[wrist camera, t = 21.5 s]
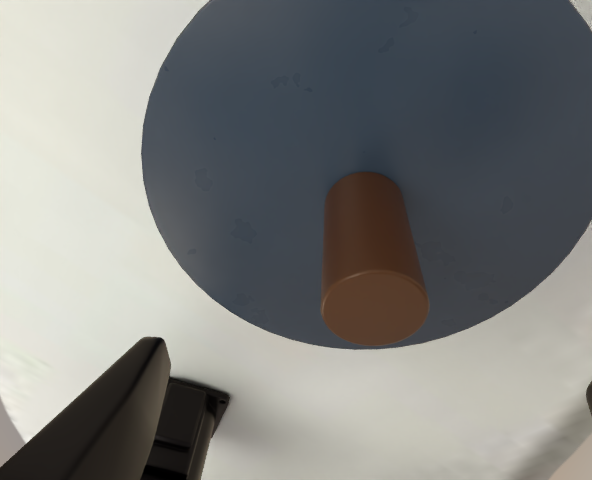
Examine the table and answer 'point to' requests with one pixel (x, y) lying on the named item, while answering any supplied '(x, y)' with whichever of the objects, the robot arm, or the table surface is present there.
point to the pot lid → (372, 160)
